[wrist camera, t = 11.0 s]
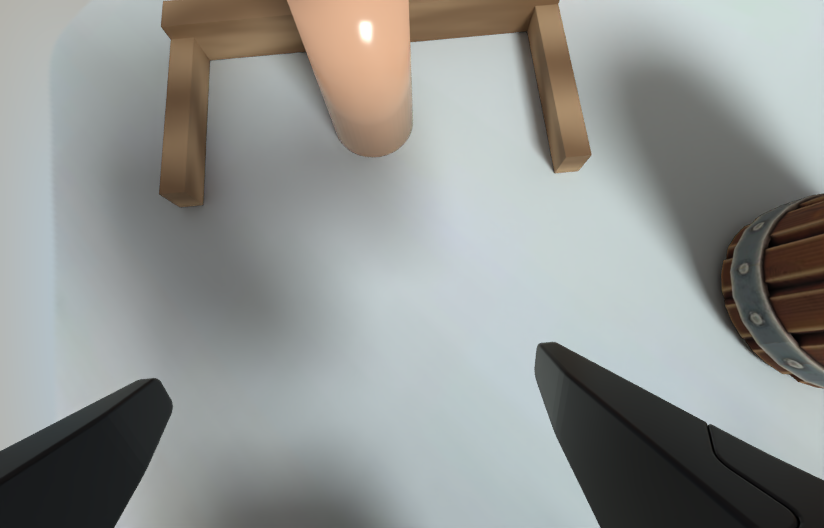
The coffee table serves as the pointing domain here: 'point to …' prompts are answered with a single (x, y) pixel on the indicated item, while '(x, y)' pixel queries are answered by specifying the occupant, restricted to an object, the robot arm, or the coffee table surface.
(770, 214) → the mug
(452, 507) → the coffee table surface
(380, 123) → the tan cylinder
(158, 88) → the coffee table surface
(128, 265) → the coffee table surface
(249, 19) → the bay
